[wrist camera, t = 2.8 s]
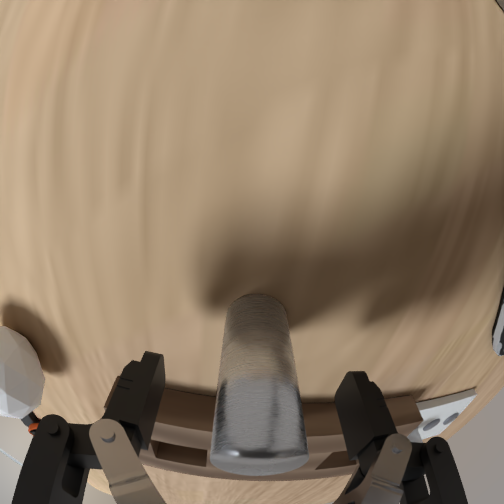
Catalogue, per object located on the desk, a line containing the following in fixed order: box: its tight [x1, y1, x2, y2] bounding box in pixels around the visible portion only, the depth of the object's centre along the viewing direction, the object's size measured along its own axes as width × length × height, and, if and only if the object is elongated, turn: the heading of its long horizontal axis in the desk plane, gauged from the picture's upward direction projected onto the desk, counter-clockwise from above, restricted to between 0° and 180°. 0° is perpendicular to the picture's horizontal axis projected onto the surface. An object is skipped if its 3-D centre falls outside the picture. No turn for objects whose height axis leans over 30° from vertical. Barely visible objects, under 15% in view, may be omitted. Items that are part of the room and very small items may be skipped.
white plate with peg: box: [407, 389, 477, 443], centre depth 18 cm, size 8×10×5 cm
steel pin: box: [210, 294, 309, 476], centre depth 10 cm, size 3×3×8 cm
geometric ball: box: [0, 326, 45, 419], centre depth 13 cm, size 8×8×8 cm
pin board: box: [104, 377, 424, 481], centre depth 18 cm, size 11×24×3 cm, turn 81°
